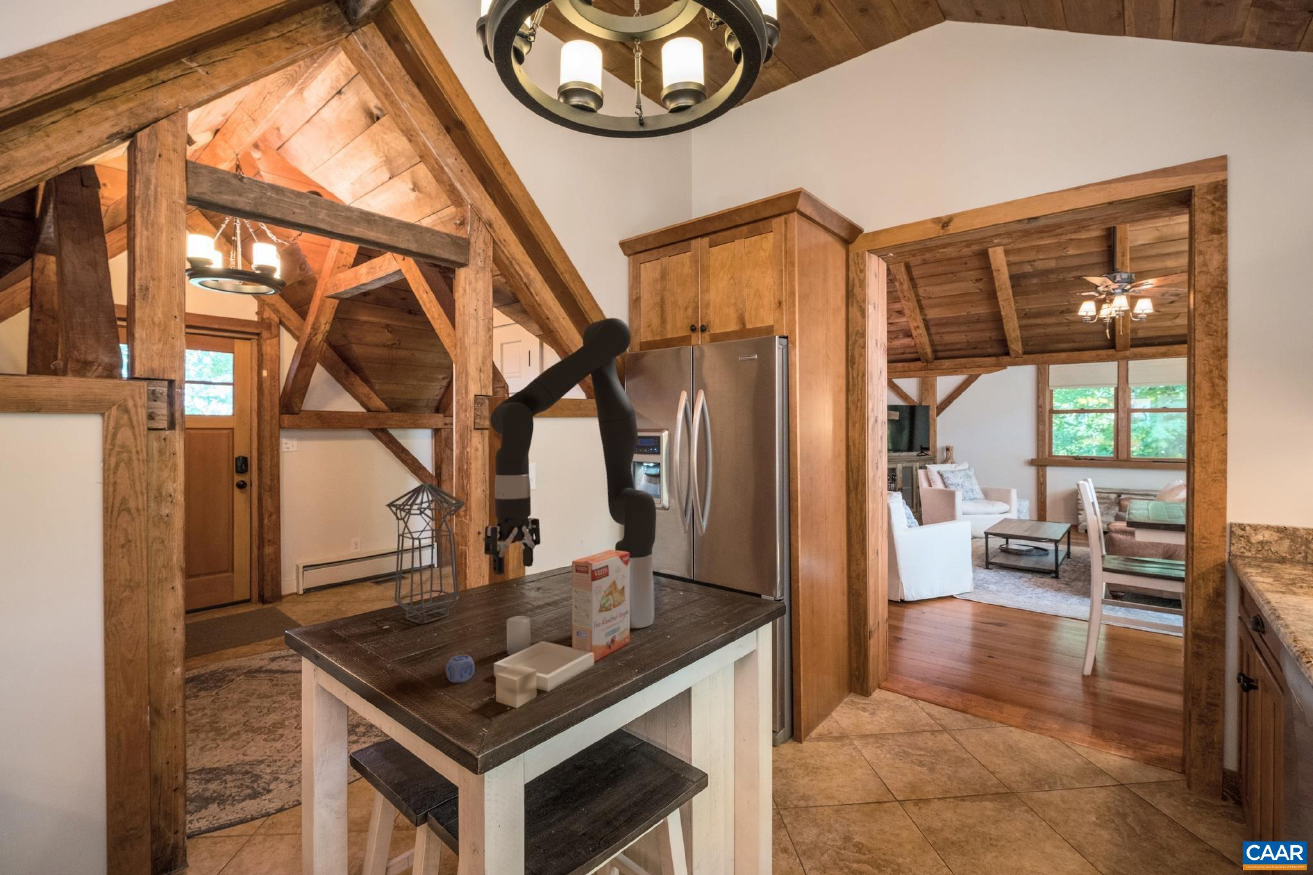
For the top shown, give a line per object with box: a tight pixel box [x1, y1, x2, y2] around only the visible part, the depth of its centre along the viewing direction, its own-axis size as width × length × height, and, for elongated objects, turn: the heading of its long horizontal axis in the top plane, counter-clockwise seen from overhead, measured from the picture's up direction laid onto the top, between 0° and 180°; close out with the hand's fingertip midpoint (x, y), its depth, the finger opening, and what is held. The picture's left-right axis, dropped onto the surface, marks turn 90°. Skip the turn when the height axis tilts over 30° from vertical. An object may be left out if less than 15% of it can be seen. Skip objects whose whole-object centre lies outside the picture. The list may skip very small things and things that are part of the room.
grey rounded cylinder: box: [506, 615, 532, 656], centre depth 128 cm, size 5×5×7 cm
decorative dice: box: [445, 654, 475, 684], centre depth 114 cm, size 4×4×4 cm
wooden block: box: [495, 664, 537, 709], centre depth 105 cm, size 5×5×5 cm
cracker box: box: [571, 549, 631, 663], centre depth 127 cm, size 14×6×21 cm, turn 148°
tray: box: [493, 640, 595, 692], centre depth 118 cm, size 14×14×2 cm
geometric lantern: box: [385, 482, 467, 625], centre depth 153 cm, size 16×16×35 cm
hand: (513, 570), depth 127 cm, fingers open, 8 cm apart
